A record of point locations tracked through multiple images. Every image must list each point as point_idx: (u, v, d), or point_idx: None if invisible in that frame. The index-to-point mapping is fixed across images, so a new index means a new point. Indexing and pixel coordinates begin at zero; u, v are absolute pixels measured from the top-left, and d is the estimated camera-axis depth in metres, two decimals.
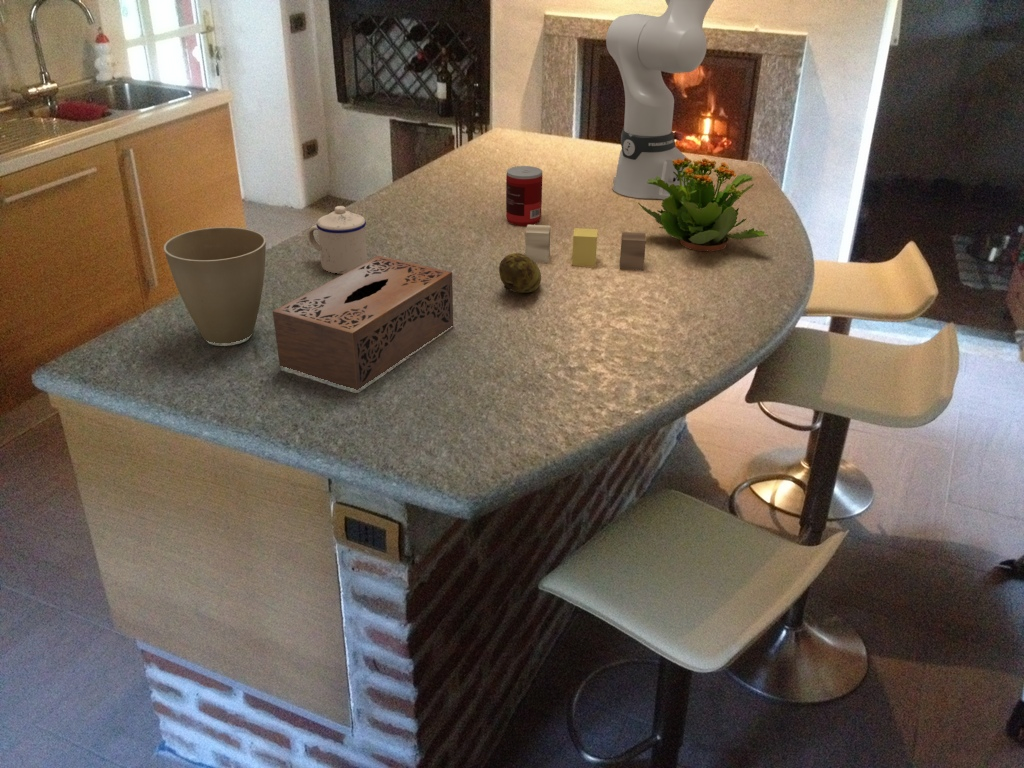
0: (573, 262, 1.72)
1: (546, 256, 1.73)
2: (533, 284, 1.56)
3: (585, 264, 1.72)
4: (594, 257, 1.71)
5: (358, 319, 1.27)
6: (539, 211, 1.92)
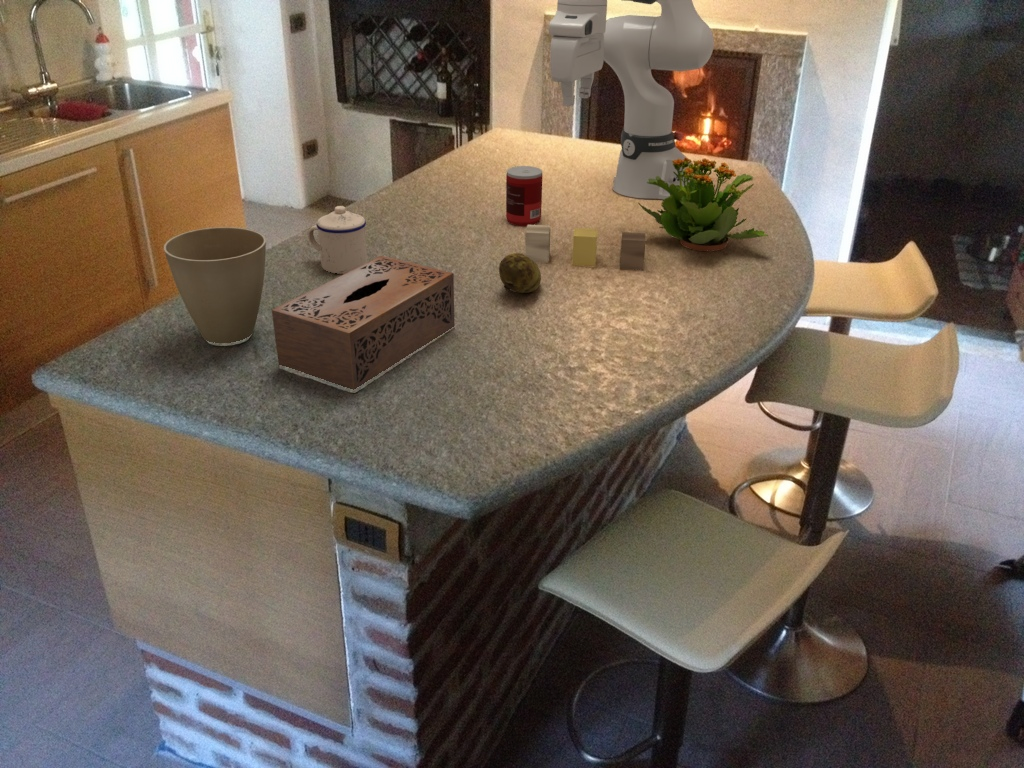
0: (573, 262, 1.72)
1: (546, 256, 1.73)
2: (533, 284, 1.56)
3: (585, 264, 1.72)
4: (594, 257, 1.71)
5: (356, 319, 1.27)
6: (539, 211, 1.92)
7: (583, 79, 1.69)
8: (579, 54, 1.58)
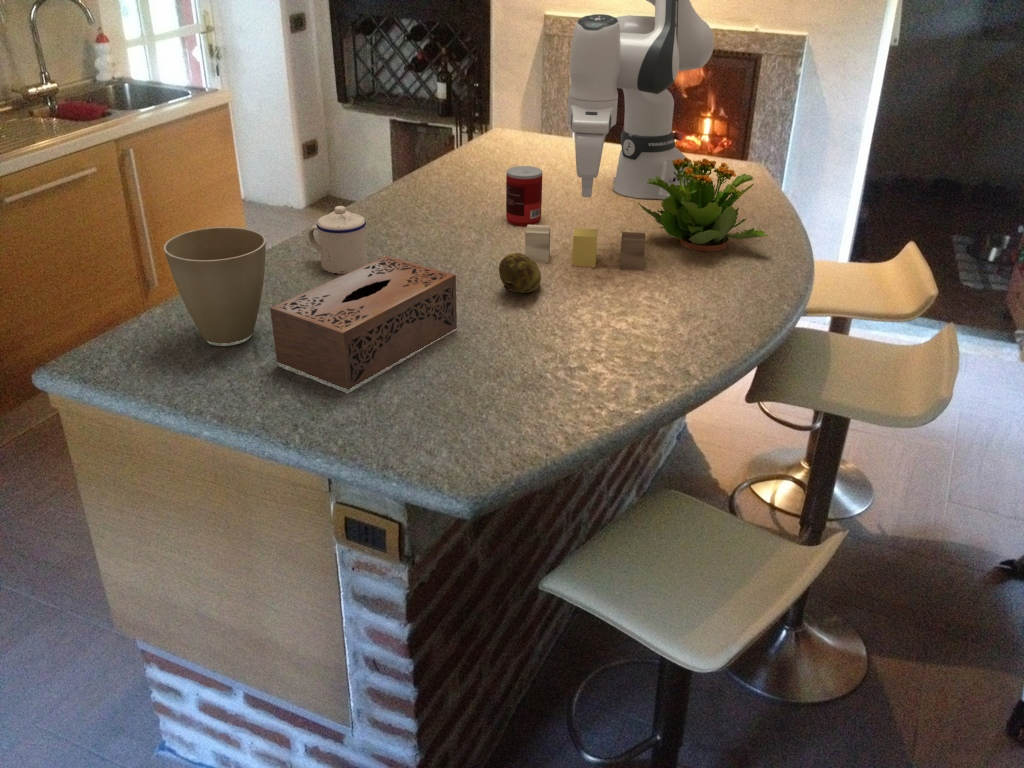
0: (573, 262, 1.72)
1: (546, 256, 1.73)
2: (533, 284, 1.56)
3: (585, 264, 1.72)
4: (594, 257, 1.71)
5: (352, 319, 1.27)
6: (539, 211, 1.92)
7: None
8: None
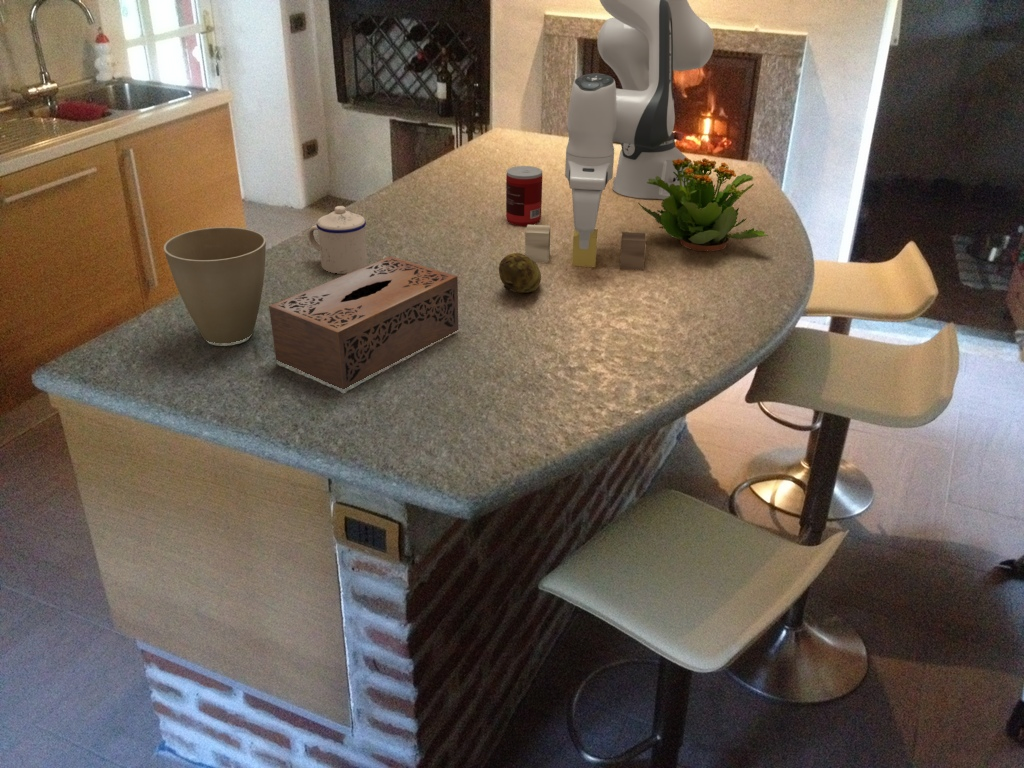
0: (573, 262, 1.72)
1: (546, 256, 1.73)
2: (533, 284, 1.56)
3: (585, 264, 1.72)
4: (594, 257, 1.71)
5: (348, 319, 1.27)
6: (539, 211, 1.92)
7: None
8: None
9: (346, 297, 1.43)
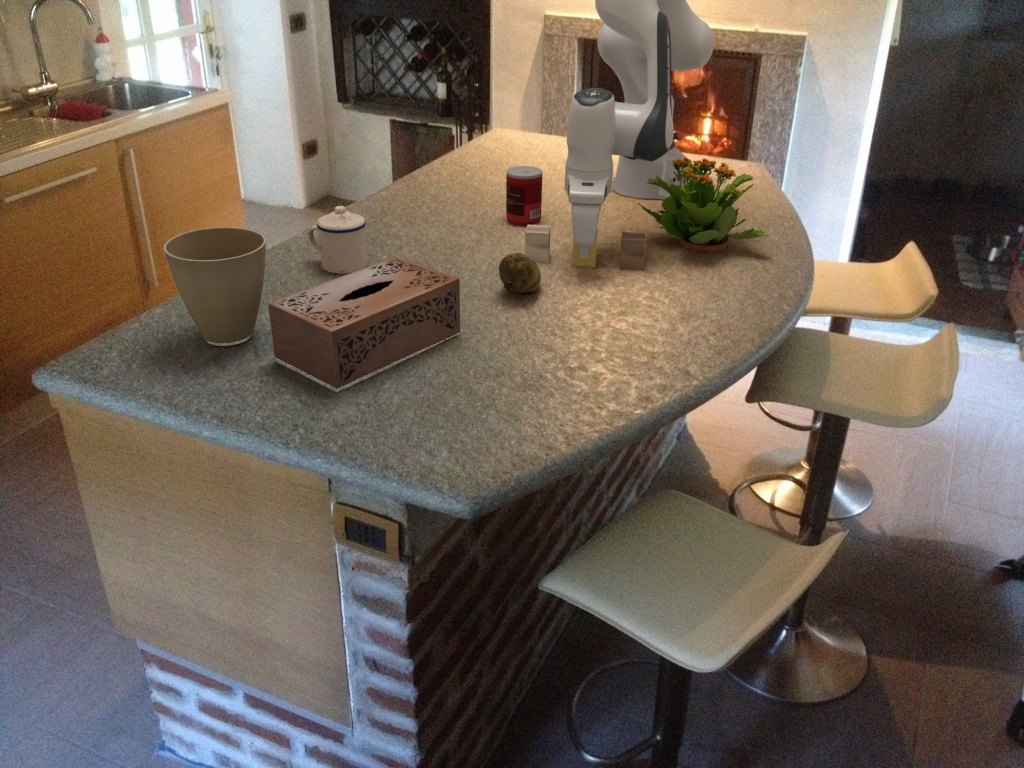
0: (573, 262, 1.72)
1: (546, 256, 1.73)
2: (533, 284, 1.56)
3: (585, 264, 1.72)
4: (594, 257, 1.71)
5: (344, 318, 1.27)
6: (539, 211, 1.92)
7: None
8: None
9: (349, 296, 1.44)
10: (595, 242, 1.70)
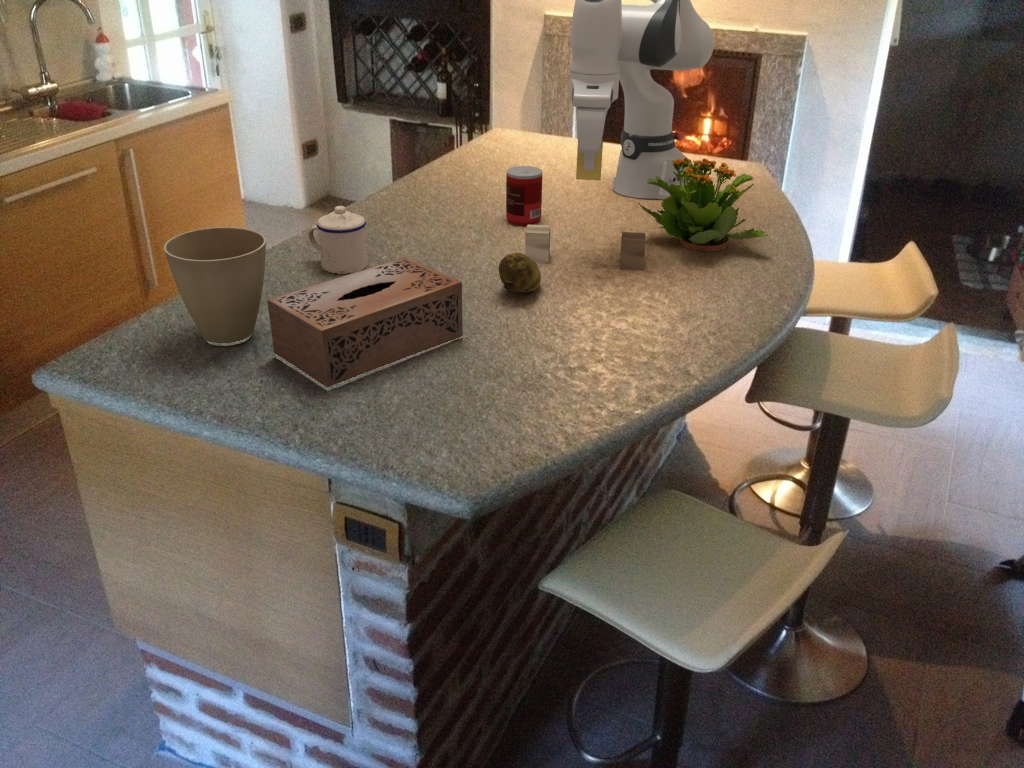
0: (577, 175, 1.64)
1: (546, 256, 1.73)
2: (533, 284, 1.56)
3: (590, 178, 1.64)
4: (599, 170, 1.63)
5: (337, 318, 1.28)
6: (539, 211, 1.92)
7: None
8: None
9: (353, 295, 1.44)
10: (600, 153, 1.62)
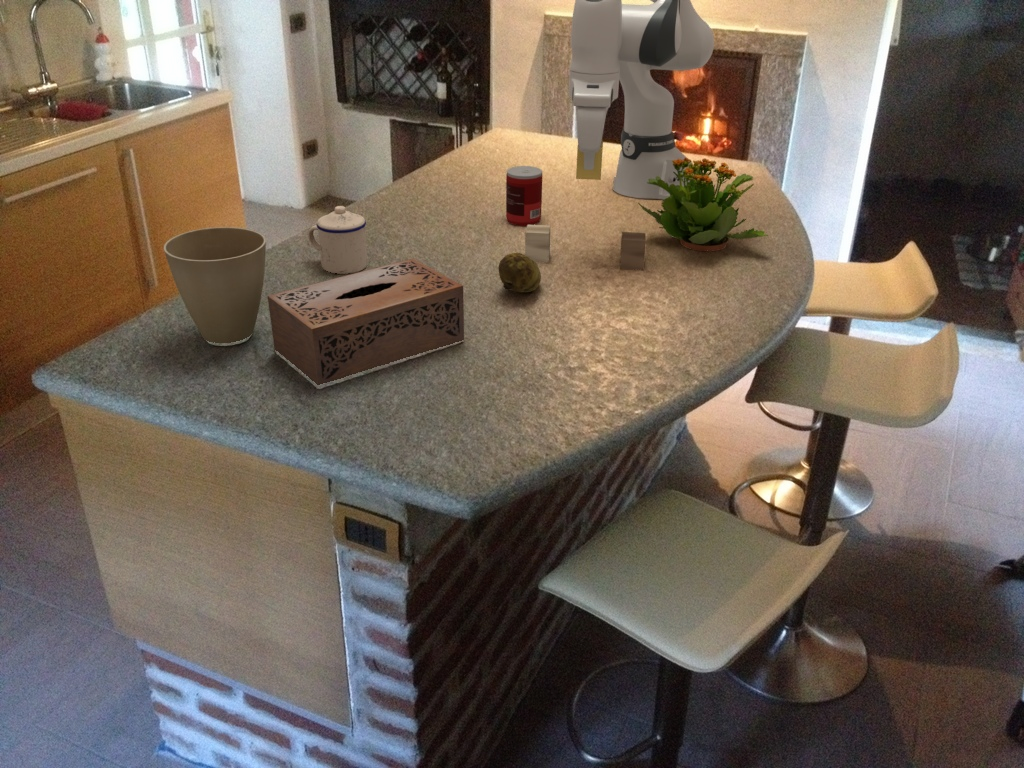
0: (577, 175, 1.64)
1: (546, 256, 1.73)
2: (532, 284, 1.56)
3: (590, 177, 1.64)
4: (599, 169, 1.63)
5: (330, 317, 1.28)
6: (539, 211, 1.92)
7: None
8: None
9: (358, 295, 1.44)
10: (600, 153, 1.62)
